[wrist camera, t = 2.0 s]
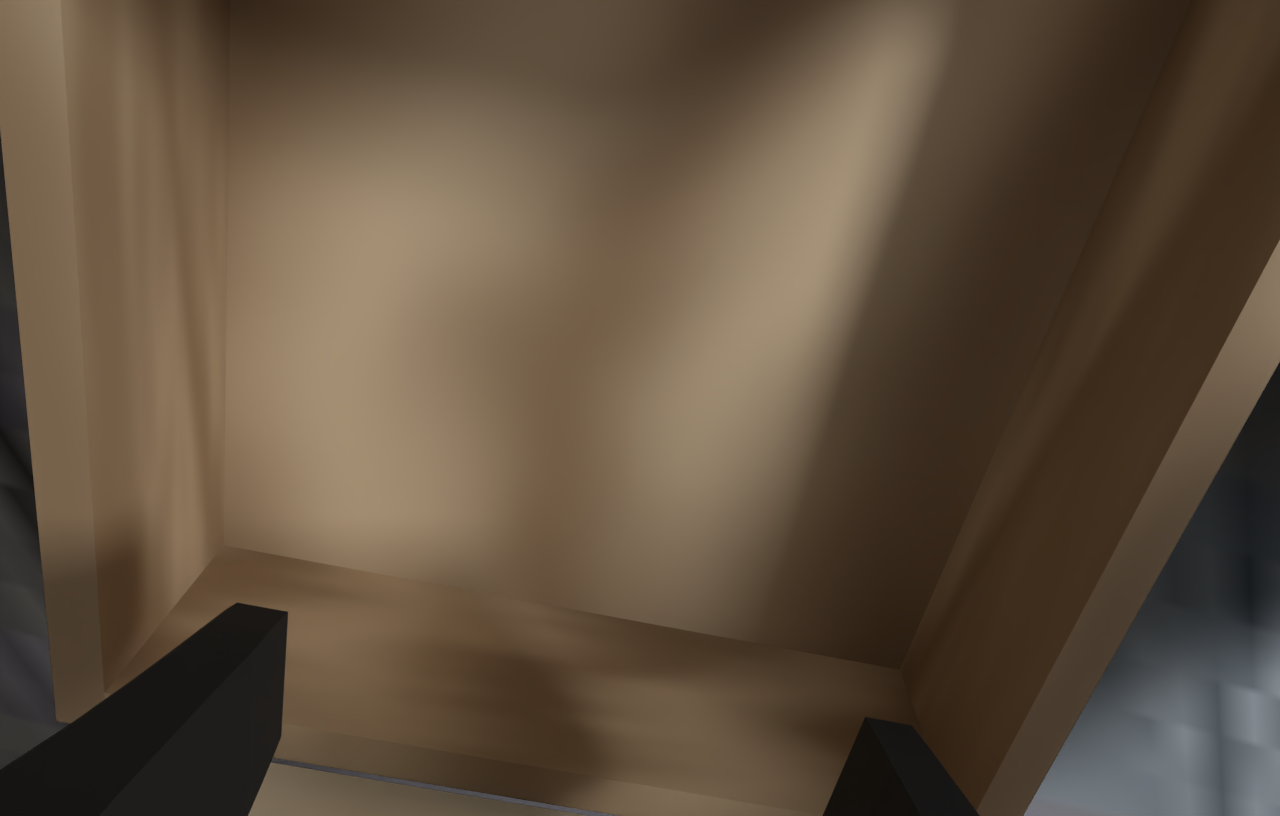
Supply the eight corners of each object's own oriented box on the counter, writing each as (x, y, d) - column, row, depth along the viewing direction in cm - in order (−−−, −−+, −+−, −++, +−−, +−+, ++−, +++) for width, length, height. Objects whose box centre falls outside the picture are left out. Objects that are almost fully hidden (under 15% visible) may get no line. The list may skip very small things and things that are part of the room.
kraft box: (1268, -120, 13) (1589, -186, 9) (912, 678, 20) (988, 877, 15) (202, -395, 12) (-73, -636, 8) (202, 547, 19) (56, 721, 14)
